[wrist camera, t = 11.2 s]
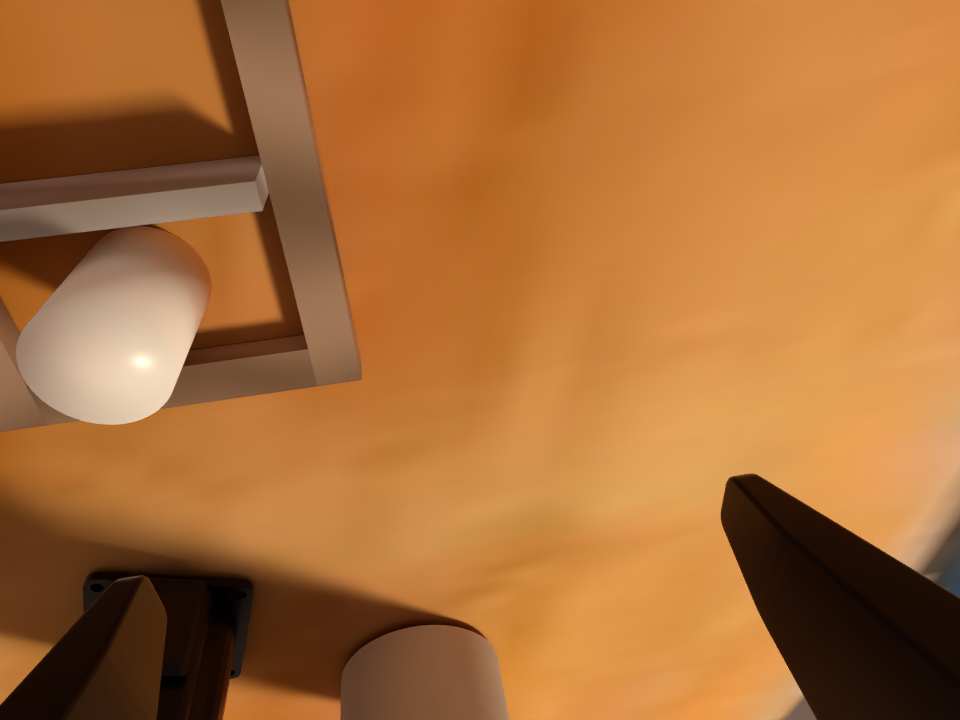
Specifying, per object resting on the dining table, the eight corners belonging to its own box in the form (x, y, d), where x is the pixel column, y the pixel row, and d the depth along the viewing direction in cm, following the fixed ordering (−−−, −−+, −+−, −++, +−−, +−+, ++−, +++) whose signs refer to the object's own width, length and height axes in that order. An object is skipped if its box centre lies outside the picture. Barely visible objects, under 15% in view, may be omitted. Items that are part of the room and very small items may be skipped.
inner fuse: (225, 322, 22) (194, 413, 18) (112, 337, 21) (53, 433, 17) (191, 218, 20) (147, 294, 16) (66, 233, 19) (-12, 314, 15)
